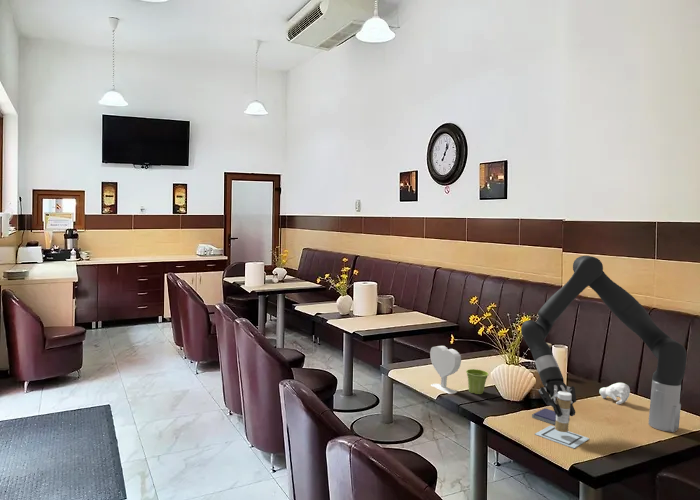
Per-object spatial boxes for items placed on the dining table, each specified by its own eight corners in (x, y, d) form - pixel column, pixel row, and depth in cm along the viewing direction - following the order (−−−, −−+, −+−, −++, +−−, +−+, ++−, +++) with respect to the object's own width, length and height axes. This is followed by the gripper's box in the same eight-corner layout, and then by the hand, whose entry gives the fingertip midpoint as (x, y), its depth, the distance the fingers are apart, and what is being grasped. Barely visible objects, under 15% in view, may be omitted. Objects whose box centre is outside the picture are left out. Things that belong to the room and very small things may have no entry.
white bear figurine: (624, 385, 218) (595, 380, 227) (624, 406, 218) (596, 400, 227) (631, 383, 221) (603, 377, 231) (632, 403, 221) (603, 397, 231)
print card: (589, 439, 185) (589, 438, 184) (574, 448, 176) (574, 447, 176) (550, 425, 195) (550, 424, 195) (534, 434, 186) (534, 433, 186)
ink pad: (566, 418, 203) (567, 414, 202) (554, 425, 196) (554, 421, 196) (544, 411, 209) (544, 407, 209) (531, 417, 202) (532, 413, 202)
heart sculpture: (460, 393, 226) (463, 351, 225) (451, 395, 223) (454, 353, 222) (435, 382, 239) (437, 343, 237) (427, 384, 236) (429, 344, 235)
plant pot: (479, 387, 234) (480, 368, 234) (491, 395, 225) (492, 375, 225) (460, 389, 231) (462, 369, 231) (472, 396, 222) (473, 376, 222)
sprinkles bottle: (557, 426, 189) (560, 389, 188) (570, 430, 186) (573, 393, 184) (552, 429, 185) (555, 392, 184) (565, 434, 182) (568, 396, 181)
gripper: (536, 366, 189) (553, 412, 179) (571, 365, 193) (590, 410, 182) (526, 375, 195) (543, 421, 184) (560, 374, 198) (579, 419, 188)
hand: (566, 415), depth 183 cm, fingers closed on sprinkles bottle, 4 cm apart
